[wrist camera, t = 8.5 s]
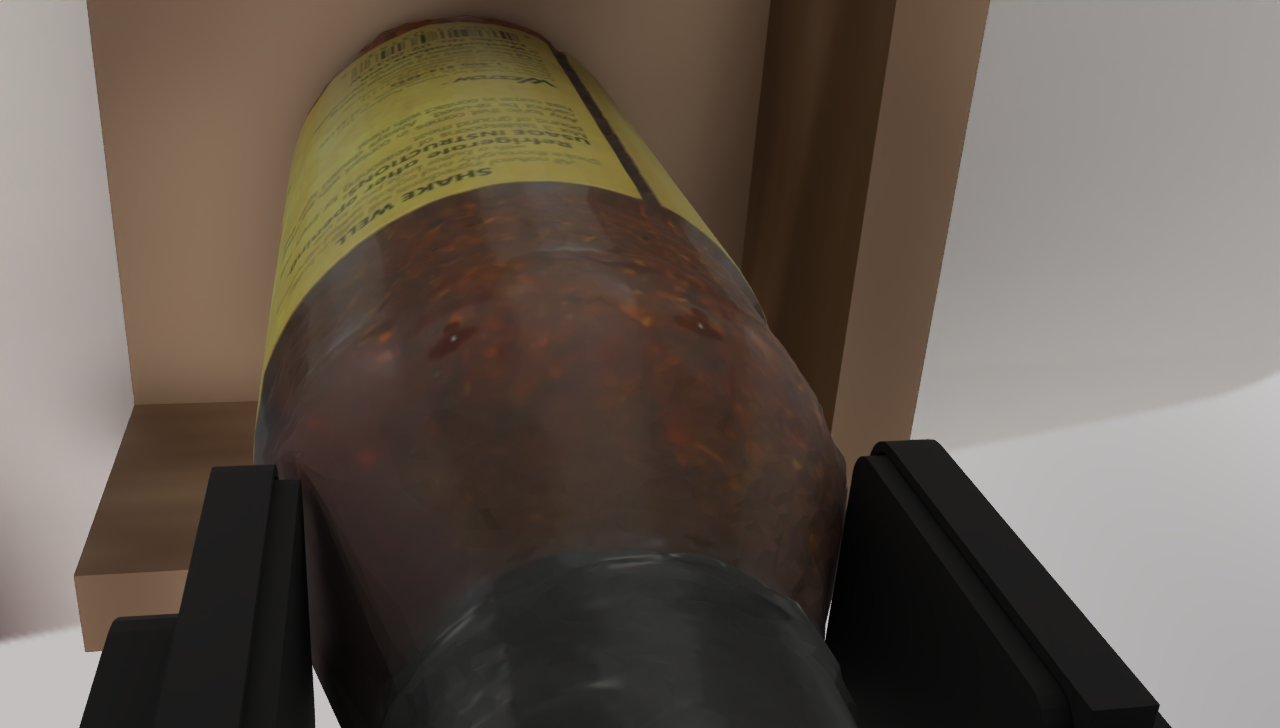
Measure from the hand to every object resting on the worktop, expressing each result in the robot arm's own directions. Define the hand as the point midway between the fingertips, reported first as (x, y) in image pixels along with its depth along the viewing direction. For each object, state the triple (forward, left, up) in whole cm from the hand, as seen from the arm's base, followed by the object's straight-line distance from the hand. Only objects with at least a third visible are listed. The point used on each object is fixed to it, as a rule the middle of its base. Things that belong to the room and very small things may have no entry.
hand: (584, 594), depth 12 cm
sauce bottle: (0, 0, -14) cm, 14 cm away
